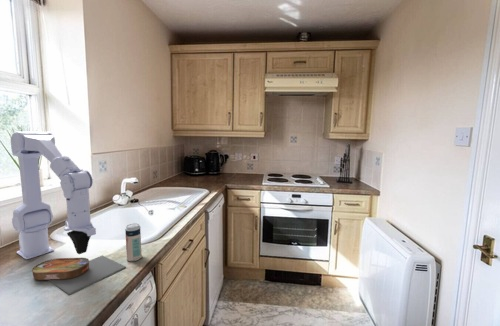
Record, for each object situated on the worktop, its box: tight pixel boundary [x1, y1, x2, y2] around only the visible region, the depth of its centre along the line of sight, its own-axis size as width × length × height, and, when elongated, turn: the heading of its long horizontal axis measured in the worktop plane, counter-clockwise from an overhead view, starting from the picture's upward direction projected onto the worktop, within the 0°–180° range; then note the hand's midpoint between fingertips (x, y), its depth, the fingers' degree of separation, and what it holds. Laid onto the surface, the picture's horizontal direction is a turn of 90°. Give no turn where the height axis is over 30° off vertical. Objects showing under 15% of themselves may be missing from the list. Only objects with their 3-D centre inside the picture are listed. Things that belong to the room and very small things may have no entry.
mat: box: [48, 255, 127, 296], centre depth 75 cm, size 14×16×1 cm
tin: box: [31, 257, 89, 281], centre depth 74 cm, size 15×3×8 cm
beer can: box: [124, 223, 142, 262], centre depth 84 cm, size 5×5×12 cm
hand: (81, 252), depth 76 cm, fingers closed
